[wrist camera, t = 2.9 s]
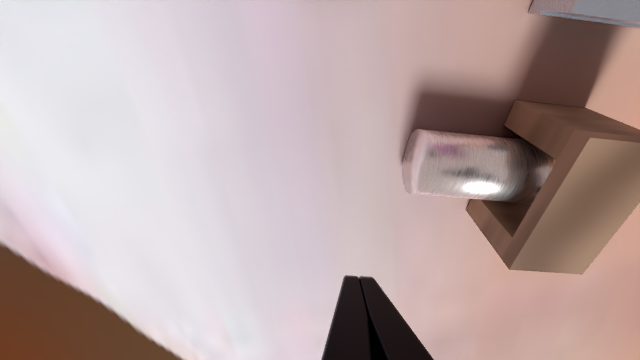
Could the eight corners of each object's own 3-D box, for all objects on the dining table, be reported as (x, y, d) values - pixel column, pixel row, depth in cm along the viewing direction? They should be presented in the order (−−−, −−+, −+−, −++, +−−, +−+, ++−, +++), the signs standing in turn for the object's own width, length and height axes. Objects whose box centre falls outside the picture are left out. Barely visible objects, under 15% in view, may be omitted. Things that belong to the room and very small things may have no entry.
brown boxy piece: (585, 107, 16) (683, 147, 12) (524, 214, 20) (582, 274, 16) (515, 100, 16) (590, 137, 12) (466, 210, 20) (509, 269, 15)
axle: (560, 138, 18) (615, 156, 15) (538, 191, 19) (584, 218, 16) (410, 122, 17) (434, 138, 14) (398, 179, 18) (417, 204, 15)
